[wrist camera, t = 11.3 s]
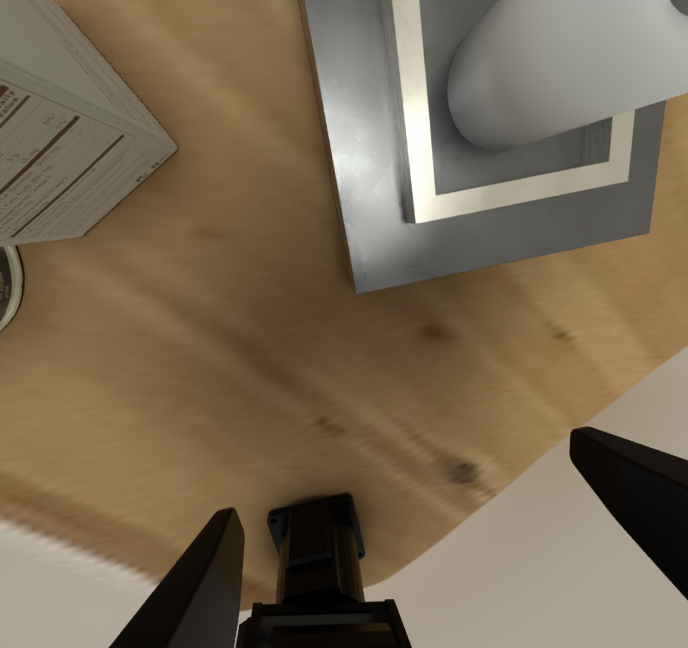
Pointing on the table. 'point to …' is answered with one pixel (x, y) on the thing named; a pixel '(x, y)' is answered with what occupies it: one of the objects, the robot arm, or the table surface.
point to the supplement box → (65, 128)
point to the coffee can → (9, 283)
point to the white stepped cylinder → (564, 66)
